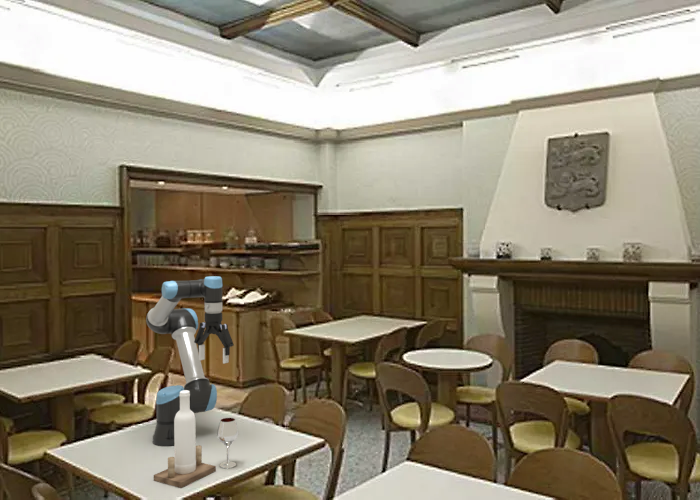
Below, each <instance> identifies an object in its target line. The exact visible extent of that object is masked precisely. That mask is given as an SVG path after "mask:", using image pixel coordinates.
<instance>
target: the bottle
mask: <svg viewBox="0 0 700 500" xmlns="http://www.w3.org/2000/svg"><path fill="white" fill-rule="evenodd" d="M179 397H180V410H179V411H178V412H177V413H176V416H175V419H174V445H173V446H174V447H173V448H174V457H175V472H176V473H178V474H189V473H192V472H194V471H195V470H196V446H197V445H196V440H197V439H196V438H197V437H196V434H197V433H196V415H195V413H194V412H192V411H191V410H190V391H188V390H183V391H180V395H179Z"/></svg>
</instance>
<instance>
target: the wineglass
mask: <svg viewBox="0 0 700 500" xmlns="http://www.w3.org/2000/svg"><path fill="white" fill-rule="evenodd" d="M216 434H217V435H216V436H217V439H218V440H219V442H220V443H222V444H223V445H224V446H225V447H226V461H225V462H222V463H220V464H219V467H220V468H222V469H232V468H234V467H236V465H237V463H236V462H234V461H230V447H231V445H233V443H234V442H235V441H236V440H237V439H238V437H239V428H238V425H237V422H236V419H235V418H233V417H225V418H221V419H219V424H218V428H217V433H216Z"/></svg>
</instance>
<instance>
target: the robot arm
mask: <svg viewBox="0 0 700 500" xmlns="http://www.w3.org/2000/svg"><path fill="white" fill-rule="evenodd" d="M223 286H224V285H223V278H222V277H221V276H216V275H215V276H214V275H212V276H210V275H209V276H205V277H204V278H202V279H197V280H196V279H195V280H191V279H190V280H170V281H164V282H163V283H162V284H161V297H160V299H159V300H158V301H157V303H156V304H155V306H154V307H152V308H151V309H150V310H149V311H148V313H146V318H145V323H146V325H147V327H148V328H149V329H150V331H152V332H154V333H157V334H160V335H166V334H168V335H169V334H170V335H171V338H172V339H173V340H175V341H176V347H177V349H178V354H179V359H180V362H181V365H182V371H183V374H184V378H185V384H184V386H183V385H181V384H178V385H177V384H176V385H169V386H166V387H164V388H162V389H160V390H158V392H157V393H156V401H155V403H156V425H155V429H154V431H153V435H152V444H153V445H155V446H161V447H168V446H169V447H171V446H174V419H175V416H176V413H177V412H178V411H179V410H180V397H179V395H180V391H183V390H188V391H190V410H191V411H192V412H194V414H198V413H199V414H200V413H206V412H210V411H213V410H214V408H215V407H216V405H217V399H218V391H217V386H216V385H215V384H213V383H211V381H210V380H209V378H207V377H205V373H204V369H203V365H202V361H203V360H204V361H205V359H206V355H205V354H206V352H205V351H206V348H205V347H206V346H205V341H206V340H207V339H208V337H209V335H215V336H217V338H218V339H219V341H220V342H221V345H222V346H223V347H222V364H228V363H229V357H230V353H231V352H230V348H232V347H234V346H235V345H234V341H233V339H232V337H231V334H230V331H229V328H228V324H227V323H224V324H222V321H223ZM189 298H190V299H191V298H203V299H204V301H203V302H204V321H203V322H202V321H201V322H198V321H199V319H198V316H197V313H196V311H195V310H193V308H185V307H182V308H176V306H177V305H178V303H179V302H180V301H181V300H182V299H189ZM197 330H198V331H197ZM195 335H196V336H195Z"/></svg>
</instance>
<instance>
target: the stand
mask: <svg viewBox="0 0 700 500" xmlns="http://www.w3.org/2000/svg"><path fill="white" fill-rule="evenodd" d="M202 448H203V447H202V445H200V444H198V445H196V470H195V471H194V472H192V473H189V474H178V473H176V472H175V456H168V458H167V469H164V470H162V471H159V472H157V473H155V474H153V481H154V482H157V483H162V484H164V485H168V486H172V487H175V488H180V489H182V488H183V489H184V488H185V487H186V486H189V485H190V484H192V483H194V482H197V481H199V480H201V479H203V478H205V477H208V476H209V475H210V474H213V473H215V472H216V471H217V468H216V467H217V466H216V465H213V464H209V463H205V462H203V461H202V460H203V459H202V458H203V456H202V455H203V453H202V452H203V450H202Z"/></svg>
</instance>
